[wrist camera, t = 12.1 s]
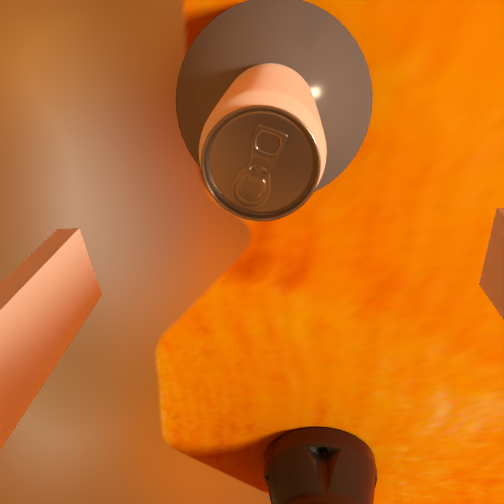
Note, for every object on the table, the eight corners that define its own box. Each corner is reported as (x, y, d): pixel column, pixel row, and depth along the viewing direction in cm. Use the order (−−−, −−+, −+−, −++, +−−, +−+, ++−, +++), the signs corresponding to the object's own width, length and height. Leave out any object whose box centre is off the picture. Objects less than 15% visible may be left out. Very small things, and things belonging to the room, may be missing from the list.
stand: (275, 212, 38) (273, 233, 34) (153, 103, 34) (138, 114, 30) (400, 97, 32) (414, 107, 28) (272, -53, 28) (269, -62, 24)
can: (214, 138, 31) (177, 205, 20) (240, 47, 27) (211, 72, 17) (295, 166, 31) (299, 245, 21) (330, 81, 28) (354, 124, 18)
